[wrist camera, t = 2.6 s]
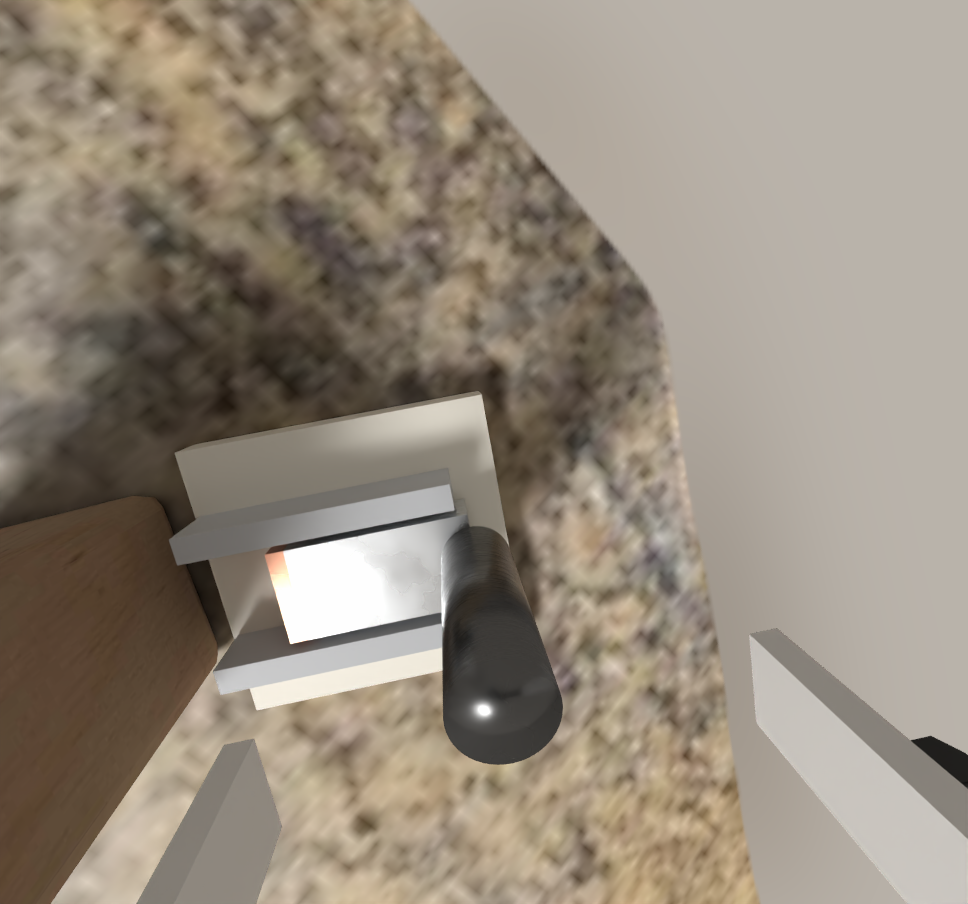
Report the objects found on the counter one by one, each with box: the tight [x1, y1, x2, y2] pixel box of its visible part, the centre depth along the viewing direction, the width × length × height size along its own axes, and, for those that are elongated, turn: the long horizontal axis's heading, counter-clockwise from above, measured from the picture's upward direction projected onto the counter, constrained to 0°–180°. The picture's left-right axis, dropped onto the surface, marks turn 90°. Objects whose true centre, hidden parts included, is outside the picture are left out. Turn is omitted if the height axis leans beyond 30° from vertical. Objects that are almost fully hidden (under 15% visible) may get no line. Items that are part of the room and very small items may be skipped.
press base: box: [169, 391, 509, 710], centre depth 25 cm, size 14×14×5 cm
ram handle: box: [265, 498, 563, 765], centre depth 20 cm, size 4×11×12 cm, turn 100°
